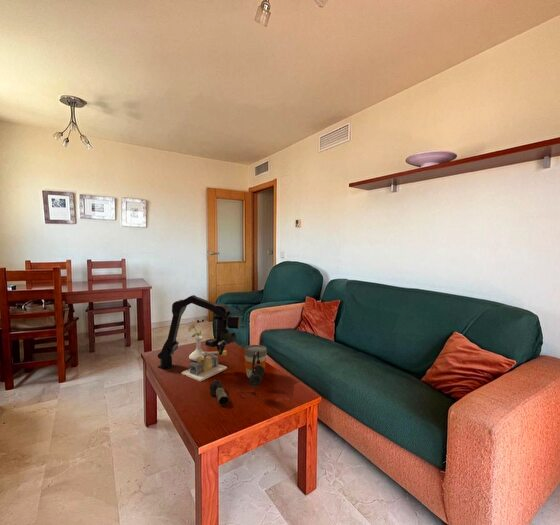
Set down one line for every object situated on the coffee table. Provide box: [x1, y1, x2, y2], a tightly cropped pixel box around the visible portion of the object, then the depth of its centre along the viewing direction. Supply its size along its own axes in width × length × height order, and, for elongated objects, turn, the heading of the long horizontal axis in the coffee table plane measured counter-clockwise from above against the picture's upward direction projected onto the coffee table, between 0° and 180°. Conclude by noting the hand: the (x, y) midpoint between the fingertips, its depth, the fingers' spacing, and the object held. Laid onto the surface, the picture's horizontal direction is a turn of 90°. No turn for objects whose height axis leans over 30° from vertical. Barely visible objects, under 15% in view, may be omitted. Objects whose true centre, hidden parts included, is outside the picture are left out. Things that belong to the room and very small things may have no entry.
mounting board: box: [181, 363, 228, 383], centre depth 165 cm, size 15×20×1 cm
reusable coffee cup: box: [243, 344, 268, 378], centre depth 162 cm, size 13×13×15 cm
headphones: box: [238, 351, 265, 399], centre depth 143 cm, size 15×11×20 cm
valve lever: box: [202, 349, 227, 358], centre depth 166 cm, size 14×3×3 cm, turn 103°
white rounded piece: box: [187, 319, 209, 362], centre depth 181 cm, size 13×11×25 cm
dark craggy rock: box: [209, 379, 230, 406], centre depth 138 cm, size 18×7×6 cm, turn 23°
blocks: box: [189, 354, 219, 376], centre depth 165 cm, size 6×16×7 cm, turn 147°
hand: (220, 355), depth 164 cm, fingers closed
